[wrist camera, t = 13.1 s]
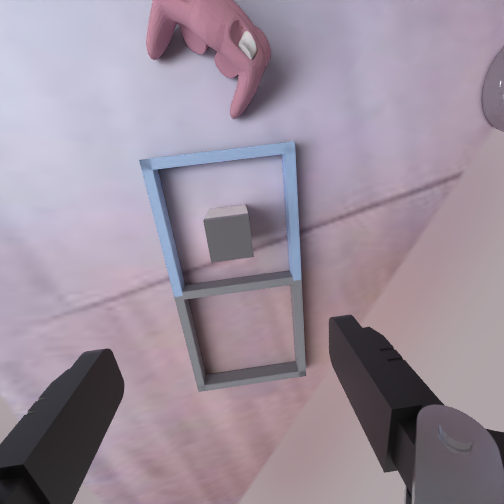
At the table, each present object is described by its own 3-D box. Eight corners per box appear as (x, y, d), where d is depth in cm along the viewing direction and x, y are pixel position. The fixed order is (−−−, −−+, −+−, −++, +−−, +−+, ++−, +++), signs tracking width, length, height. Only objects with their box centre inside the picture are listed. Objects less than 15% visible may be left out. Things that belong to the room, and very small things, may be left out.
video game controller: (257, 93, 25) (288, 30, 18) (236, 127, 24) (261, 74, 17) (169, 23, 23) (168, -79, 16) (142, 58, 22) (129, -35, 15)
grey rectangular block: (245, 204, 27) (248, 214, 22) (249, 238, 29) (253, 256, 23) (209, 209, 27) (203, 220, 21) (215, 243, 28) (211, 262, 23)
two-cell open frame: (290, 143, 25) (294, 141, 24) (302, 365, 36) (306, 375, 34) (145, 160, 25) (139, 160, 23) (200, 380, 35) (198, 391, 34)
